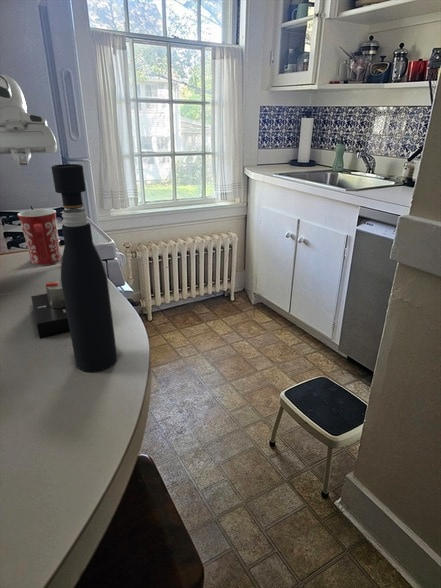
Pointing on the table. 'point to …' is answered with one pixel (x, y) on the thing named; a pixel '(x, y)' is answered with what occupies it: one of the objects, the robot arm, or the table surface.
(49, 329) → the panel
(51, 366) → the table surface
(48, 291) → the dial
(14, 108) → the robot arm
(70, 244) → the black bottle
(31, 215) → the mug
